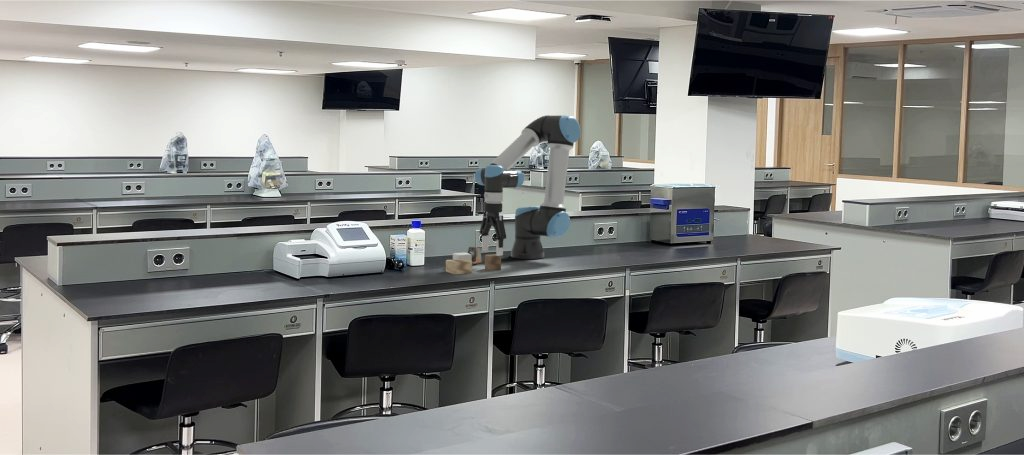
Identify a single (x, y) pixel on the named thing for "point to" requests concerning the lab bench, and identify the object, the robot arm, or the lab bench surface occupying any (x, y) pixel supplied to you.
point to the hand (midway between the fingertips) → (492, 253)
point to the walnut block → (492, 262)
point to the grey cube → (462, 256)
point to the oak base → (458, 266)
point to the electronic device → (475, 254)
